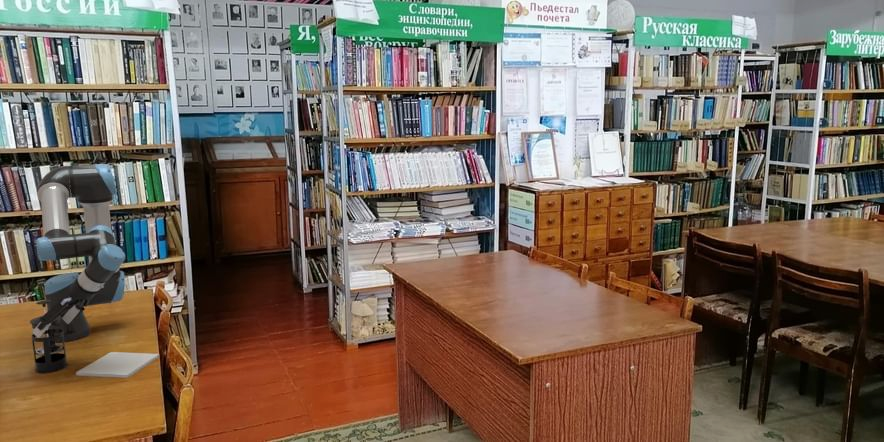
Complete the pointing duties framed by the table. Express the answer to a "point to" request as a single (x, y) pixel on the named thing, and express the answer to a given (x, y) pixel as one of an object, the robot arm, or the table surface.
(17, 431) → the table surface
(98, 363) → the white square mat
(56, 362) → the french press
